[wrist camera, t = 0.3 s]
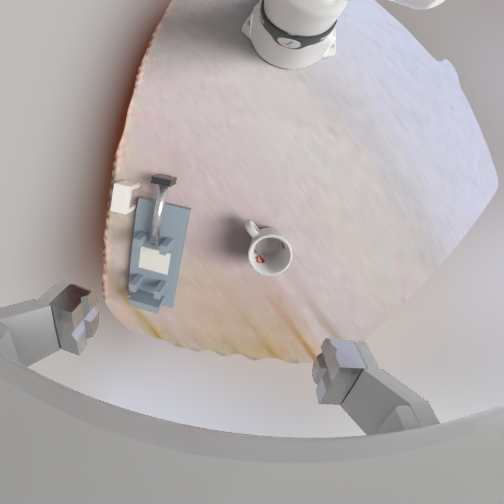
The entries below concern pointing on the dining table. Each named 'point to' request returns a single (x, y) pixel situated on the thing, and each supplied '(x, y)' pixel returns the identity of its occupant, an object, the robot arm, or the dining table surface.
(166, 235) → the block
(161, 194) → the shaft
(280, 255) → the cup
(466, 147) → the dining table surface
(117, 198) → the bracket
